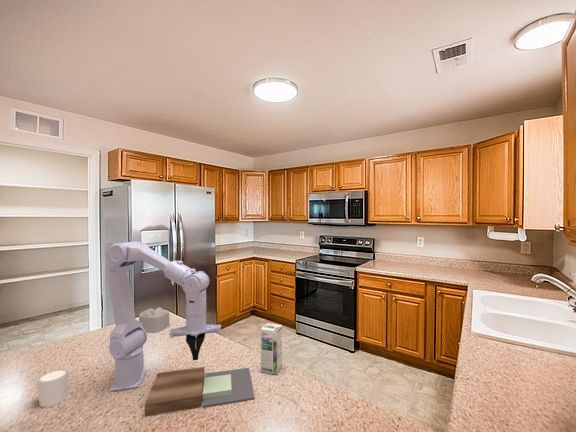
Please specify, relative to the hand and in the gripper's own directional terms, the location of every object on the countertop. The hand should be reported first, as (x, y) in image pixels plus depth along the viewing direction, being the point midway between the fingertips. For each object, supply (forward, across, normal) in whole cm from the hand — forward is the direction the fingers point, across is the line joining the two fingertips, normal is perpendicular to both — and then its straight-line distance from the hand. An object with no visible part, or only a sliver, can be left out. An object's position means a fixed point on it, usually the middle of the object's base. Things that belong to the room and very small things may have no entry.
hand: (195, 358), depth 81 cm
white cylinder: (+10, -39, +5) cm, 40 cm away
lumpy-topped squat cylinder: (+10, -24, +54) cm, 60 cm away
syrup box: (+9, +24, +5) cm, 26 cm away
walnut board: (+9, -5, -1) cm, 10 cm away
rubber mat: (+9, +10, -1) cm, 13 cm away
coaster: (+9, +6, -2) cm, 11 cm away
